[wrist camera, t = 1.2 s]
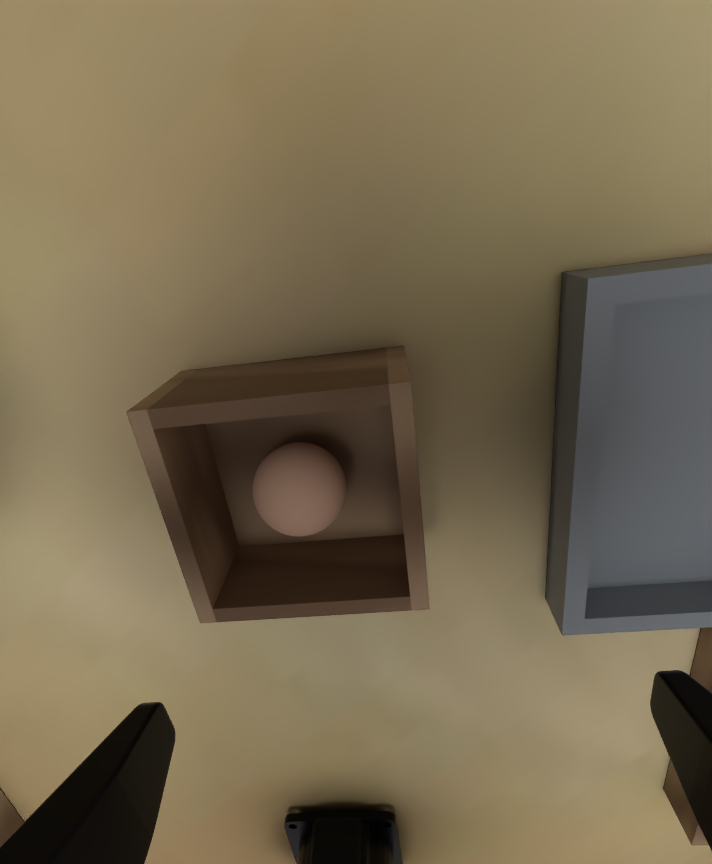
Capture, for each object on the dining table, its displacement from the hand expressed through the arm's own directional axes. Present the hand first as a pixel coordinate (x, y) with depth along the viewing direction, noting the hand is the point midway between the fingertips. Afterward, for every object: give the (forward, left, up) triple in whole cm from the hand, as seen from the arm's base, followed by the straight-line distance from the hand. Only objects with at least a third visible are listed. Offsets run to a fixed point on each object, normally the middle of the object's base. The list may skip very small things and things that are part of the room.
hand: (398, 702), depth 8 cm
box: (0, +3, -10) cm, 11 cm away
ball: (0, +3, -10) cm, 10 cm away
